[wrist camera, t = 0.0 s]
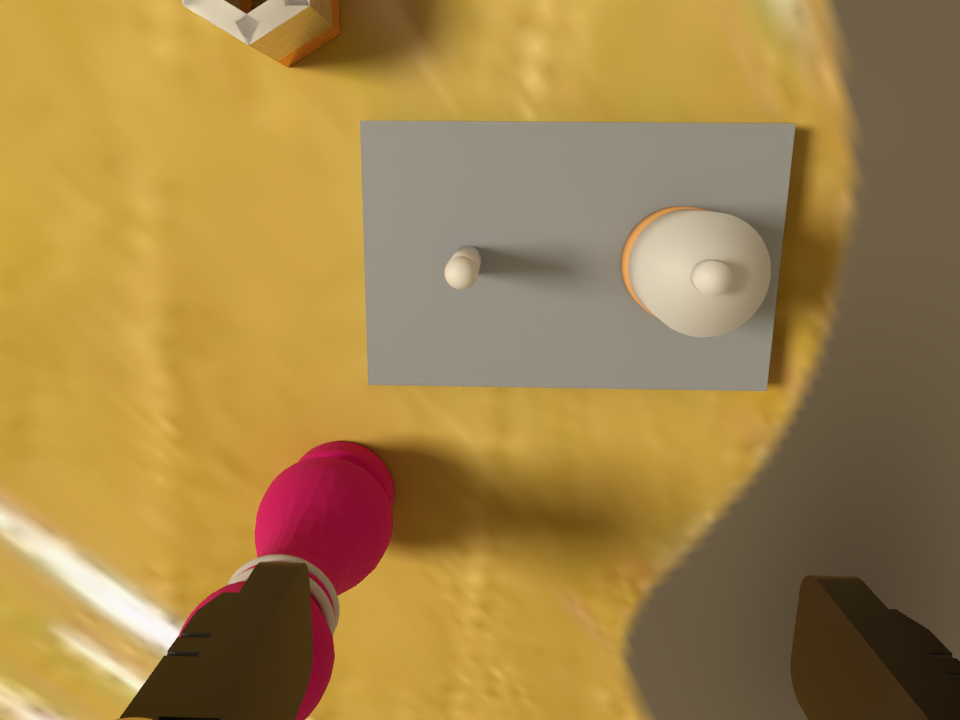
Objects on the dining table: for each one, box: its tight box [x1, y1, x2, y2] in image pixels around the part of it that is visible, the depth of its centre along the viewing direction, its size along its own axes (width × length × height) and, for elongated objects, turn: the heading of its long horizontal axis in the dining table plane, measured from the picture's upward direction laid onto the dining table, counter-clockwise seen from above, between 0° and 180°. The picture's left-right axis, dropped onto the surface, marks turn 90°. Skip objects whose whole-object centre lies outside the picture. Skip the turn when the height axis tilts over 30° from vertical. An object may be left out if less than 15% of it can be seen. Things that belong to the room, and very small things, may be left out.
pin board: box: [360, 121, 796, 391], centre depth 35 cm, size 14×22×9 cm, turn 90°
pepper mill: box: [178, 441, 394, 720], centre depth 33 cm, size 7×7×20 cm
